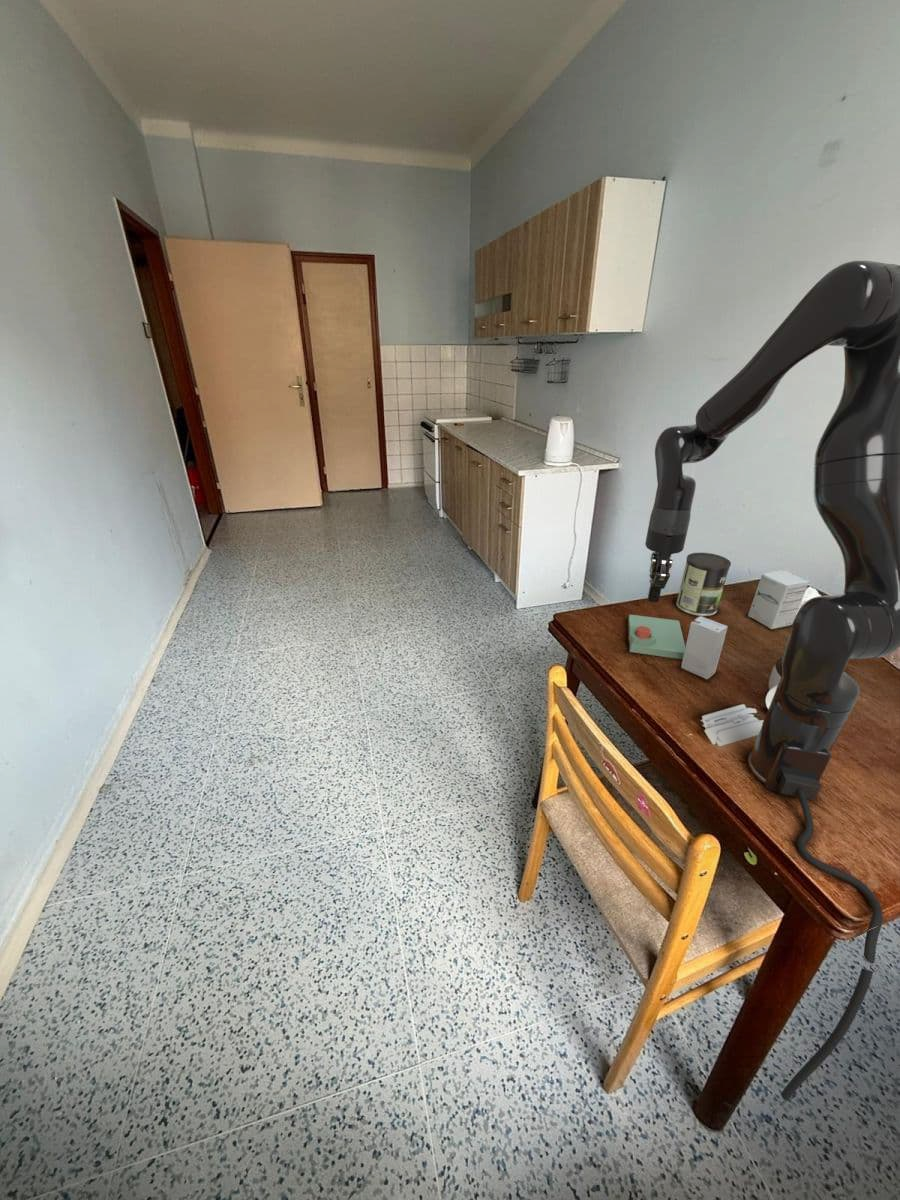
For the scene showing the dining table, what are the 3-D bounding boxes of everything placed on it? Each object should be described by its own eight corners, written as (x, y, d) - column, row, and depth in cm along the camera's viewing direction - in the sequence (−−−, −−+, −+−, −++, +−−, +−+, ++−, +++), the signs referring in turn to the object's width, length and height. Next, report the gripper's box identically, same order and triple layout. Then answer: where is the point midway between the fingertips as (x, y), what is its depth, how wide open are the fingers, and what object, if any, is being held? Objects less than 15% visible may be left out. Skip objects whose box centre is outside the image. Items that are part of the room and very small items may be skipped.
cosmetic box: (716, 672, 103) (730, 625, 97) (706, 681, 101) (720, 633, 95) (688, 660, 107) (700, 614, 102) (678, 668, 105) (690, 621, 99)
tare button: (649, 640, 109) (651, 633, 108) (636, 638, 110) (637, 631, 109) (648, 633, 112) (650, 627, 111) (635, 631, 113) (636, 625, 112)
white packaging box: (746, 616, 124) (760, 572, 118) (768, 611, 126) (783, 568, 120) (770, 630, 118) (787, 585, 112) (793, 625, 120) (810, 580, 114)
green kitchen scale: (685, 660, 107) (688, 647, 106) (627, 651, 111) (629, 639, 109) (677, 626, 120) (680, 615, 118) (626, 620, 123) (628, 608, 122)
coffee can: (718, 603, 130) (732, 556, 124) (715, 620, 123) (729, 570, 116) (678, 595, 135) (689, 549, 128) (672, 610, 127) (684, 562, 121)
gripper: (646, 516, 104) (633, 586, 112) (651, 536, 93) (636, 612, 101) (683, 518, 102) (667, 589, 110) (692, 539, 91) (674, 616, 99)
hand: (652, 600), depth 106 cm, fingers closed
